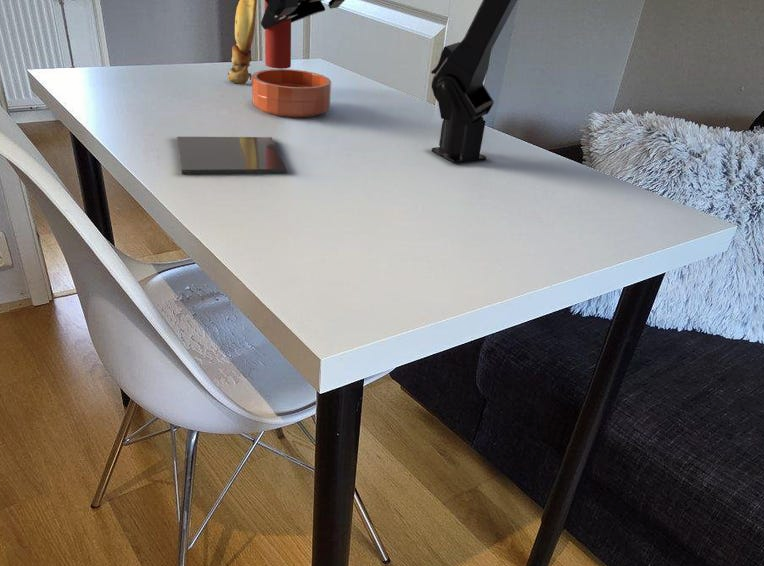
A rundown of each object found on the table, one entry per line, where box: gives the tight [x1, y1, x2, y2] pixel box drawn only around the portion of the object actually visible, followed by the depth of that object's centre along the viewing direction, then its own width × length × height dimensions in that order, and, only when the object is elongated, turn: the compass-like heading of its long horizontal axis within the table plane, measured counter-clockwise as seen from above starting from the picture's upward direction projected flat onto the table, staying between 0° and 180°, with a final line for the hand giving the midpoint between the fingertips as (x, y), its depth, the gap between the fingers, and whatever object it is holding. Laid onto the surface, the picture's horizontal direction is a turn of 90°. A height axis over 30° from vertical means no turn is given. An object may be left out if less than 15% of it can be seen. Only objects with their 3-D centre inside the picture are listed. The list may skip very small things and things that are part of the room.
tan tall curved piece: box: [227, 0, 258, 85], centre depth 123 cm, size 7×5×20 cm
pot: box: [251, 68, 332, 118], centre depth 117 cm, size 14×14×5 cm
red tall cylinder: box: [264, 0, 292, 69], centre depth 108 cm, size 4×4×13 cm
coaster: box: [176, 136, 288, 175], centre depth 95 cm, size 14×14×1 cm
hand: (271, 25), depth 108 cm, fingers closed on red tall cylinder, 4 cm apart
